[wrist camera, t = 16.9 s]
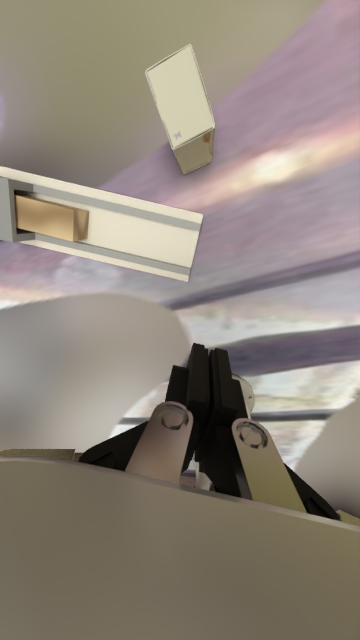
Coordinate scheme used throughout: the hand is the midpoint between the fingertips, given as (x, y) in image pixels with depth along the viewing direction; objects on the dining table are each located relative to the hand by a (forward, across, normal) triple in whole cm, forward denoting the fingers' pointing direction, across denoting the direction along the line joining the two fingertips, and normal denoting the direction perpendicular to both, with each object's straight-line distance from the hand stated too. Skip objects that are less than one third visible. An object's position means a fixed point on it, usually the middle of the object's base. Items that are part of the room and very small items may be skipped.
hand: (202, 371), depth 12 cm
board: (+28, +17, -3) cm, 33 cm away
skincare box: (+28, +6, -16) cm, 33 cm away
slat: (+27, +24, -3) cm, 36 cm away
